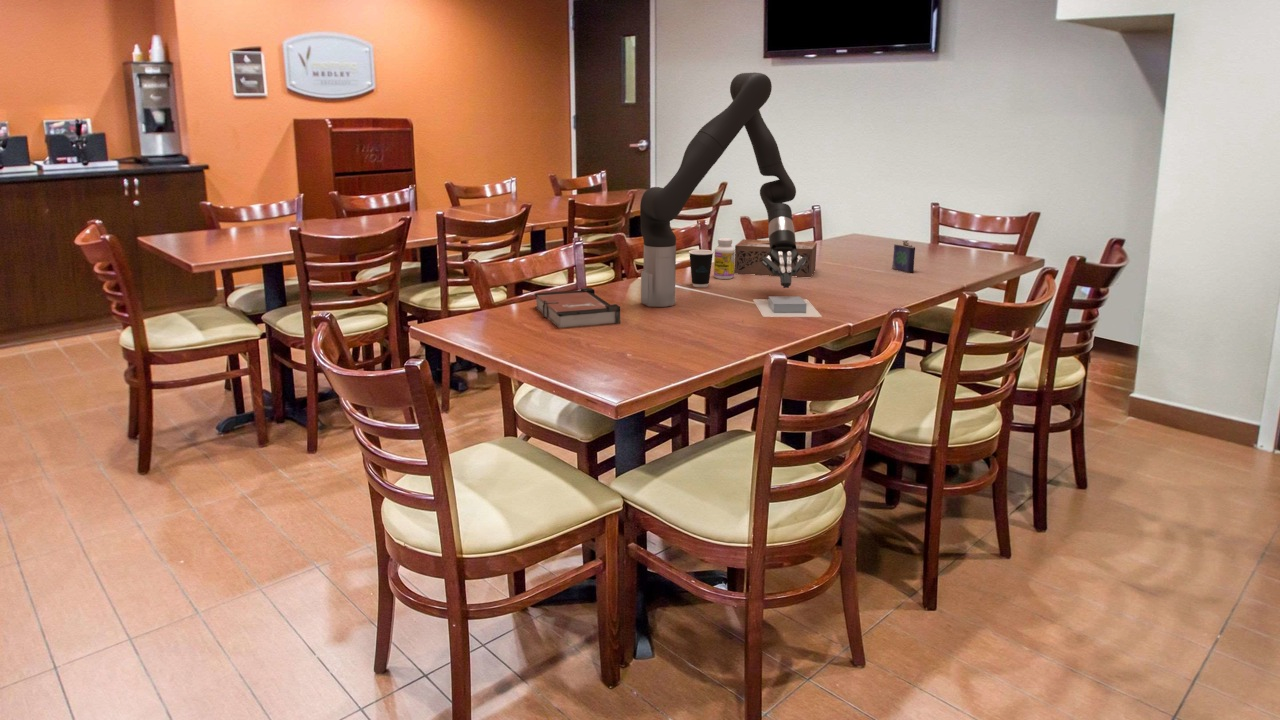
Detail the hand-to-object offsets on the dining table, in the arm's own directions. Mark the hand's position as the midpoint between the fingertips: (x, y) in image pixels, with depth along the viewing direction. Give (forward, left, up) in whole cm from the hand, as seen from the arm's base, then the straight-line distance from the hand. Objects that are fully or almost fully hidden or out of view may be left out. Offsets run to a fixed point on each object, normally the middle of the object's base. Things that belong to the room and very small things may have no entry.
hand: (786, 286), depth 251 cm
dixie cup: (-9, +38, -7) cm, 40 cm away
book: (-58, +13, -7) cm, 60 cm away
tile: (+1, +2, -5) cm, 5 cm away
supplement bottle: (+4, +48, -7) cm, 49 cm away
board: (0, -1, -7) cm, 7 cm away
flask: (+68, +38, -7) cm, 78 cm away
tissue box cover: (+25, +51, -7) cm, 57 cm away
